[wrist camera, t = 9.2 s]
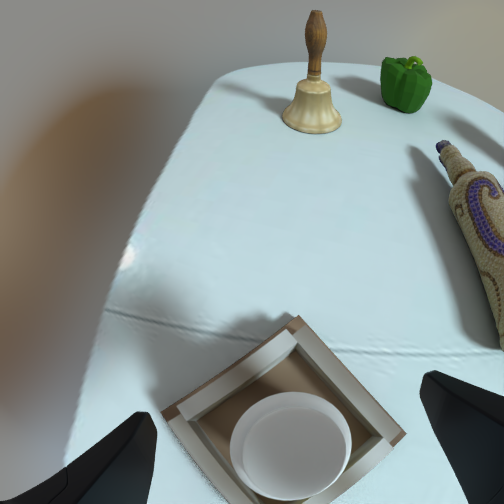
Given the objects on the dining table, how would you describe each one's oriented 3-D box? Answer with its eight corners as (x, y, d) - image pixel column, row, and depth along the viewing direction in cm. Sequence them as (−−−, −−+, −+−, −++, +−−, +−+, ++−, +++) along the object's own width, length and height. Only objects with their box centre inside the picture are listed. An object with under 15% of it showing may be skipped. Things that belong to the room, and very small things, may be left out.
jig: (266, 535, 14) (264, 553, 11) (165, 412, 20) (147, 410, 17) (401, 433, 17) (421, 434, 14) (297, 319, 23) (301, 302, 20)
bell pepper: (372, 89, 42) (379, 39, 34) (415, 98, 41) (426, 51, 33) (380, 113, 38) (391, 56, 30) (428, 123, 37) (443, 70, 28)
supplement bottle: (229, 429, 18) (190, 439, 9) (292, 384, 20) (305, 357, 11) (277, 485, 15) (279, 539, 7) (340, 438, 17) (394, 453, 8)
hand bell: (285, 101, 40) (283, 4, 27) (340, 107, 39) (349, 9, 25) (278, 131, 36) (273, 15, 23) (342, 138, 35) (355, 22, 21)
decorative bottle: (532, 340, 19) (571, 316, 13) (489, 359, 19) (533, 337, 13) (455, 160, 32) (471, 124, 27) (413, 158, 33) (427, 117, 27)
